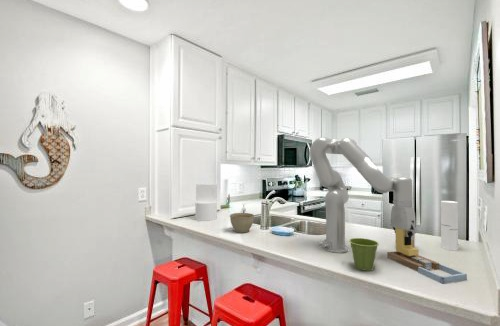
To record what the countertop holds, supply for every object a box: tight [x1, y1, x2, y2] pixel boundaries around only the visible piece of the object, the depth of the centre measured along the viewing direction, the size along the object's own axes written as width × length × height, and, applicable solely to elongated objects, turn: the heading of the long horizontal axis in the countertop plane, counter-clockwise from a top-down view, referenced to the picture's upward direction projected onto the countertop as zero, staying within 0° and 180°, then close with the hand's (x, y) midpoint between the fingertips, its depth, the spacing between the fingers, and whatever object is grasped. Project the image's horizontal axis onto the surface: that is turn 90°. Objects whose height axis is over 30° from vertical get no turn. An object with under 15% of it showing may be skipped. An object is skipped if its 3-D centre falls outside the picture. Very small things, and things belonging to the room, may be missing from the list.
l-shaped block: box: [394, 228, 419, 256], centre depth 115 cm, size 5×7×11 cm
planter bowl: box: [229, 212, 255, 234], centre depth 168 cm, size 16×16×11 cm
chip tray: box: [417, 263, 468, 285], centre depth 99 cm, size 12×10×3 cm
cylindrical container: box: [440, 200, 459, 252], centre depth 135 cm, size 7×7×25 cm
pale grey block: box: [411, 256, 423, 264], centre depth 109 cm, size 3×3×3 cm
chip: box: [419, 259, 433, 271], centre depth 106 cm, size 3×3×3 cm
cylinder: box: [194, 183, 218, 222], centre depth 206 cm, size 17×17×28 cm
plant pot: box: [348, 237, 380, 272], centre depth 109 cm, size 12×12×11 cm
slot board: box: [386, 250, 440, 273], centre depth 112 cm, size 11×16×4 cm, turn 15°
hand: (403, 243), depth 116 cm, fingers closed on l-shaped block, 4 cm apart
